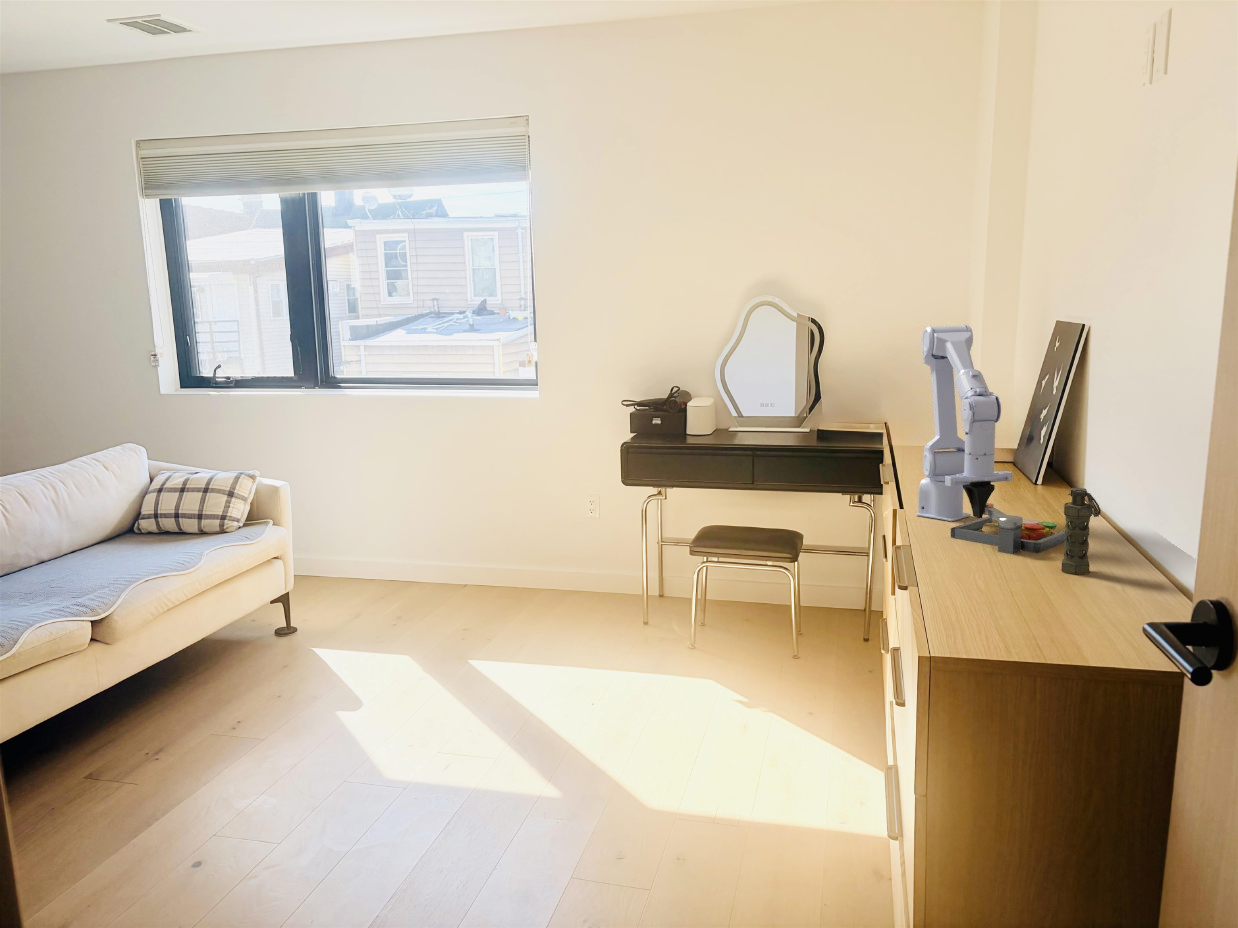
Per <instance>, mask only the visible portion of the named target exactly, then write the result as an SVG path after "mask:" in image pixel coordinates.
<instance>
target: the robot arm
mask: <svg viewBox="0 0 1238 928" xmlns="http://www.w3.org/2000/svg"><path fill="white" fill-rule="evenodd" d="M973 343H974V334H973V330H972V328H971V326H970V325H969V324H963V325H945V326H944V325H943V326H941V325H940V326H932V325H927V326H926V327H925V328H924V330H923V332H922V337H921V353H922V356H921V357H922V360H923V364H925V365H927V366H928V367H929V368H930V369H929V370H930V375H931V388H932V389H931V390H932V391H931V392H932V403H933V405H932V407H933V419H934V420H933V421H934V434H935V435H934V438H932V439H931V440H930V441H929V442H927V443H926V444H925V445H924V446H923V457H922V471H923V473H924V474H923V475H924V476H925V477H924V478H922V479H921V480H920V483H919V487H918V493H917V494H918V497H917V499H918V501H917V503H918V504H917V505H918V507H917V510H918V511H917V512H916V516H919V517H923V518H930V519H938V520H943V521H947V522H948V521H949V522H955V521H958V520H961V519H964V518H968V517H971V516H973V517H974V518H977V519H981V518H983V516H984V515H983V512H984V509H985V506H986V503H988V501H989V499H990V497H991V495H992V494H993V492H994V491H995V489H996V488H995V486H996V485H995V484H992V483H998V482H1007V483H1008V482H1012V481H1013V472H1012V471H1008V470H1002V471H1000V470H999V471H995V448H996V447H995V445H996V423H999V421H1000V419H1001V415H1002V405H1001V404H1002V403H1001V401H1000V397H999V395H997V394H995V393H994V392H993V391H990V390H989V387H988V385H987V382H986V380H985V377H984V375H983V373H982V372H981V371H980V370H978V369H975V367H974V363H973V359H972V356H971V349H972V346H973ZM954 372H955V374H956V376H955V374H954ZM954 376H955V377H954ZM954 378H955V379H954ZM955 387H956V390H957V393H958V396H959V398H960V401H961V407H960V416H961V419H962V430H963V431H964V433H965V434H964V439H962V438H961V437H960V436H959V435H958V423H957V408H956V407H957V406H956V393H955V392H956V391H955ZM964 491H965V493H966V496H967V499H968V501H969V504H970V507H971V511H972V515H971V513H968V512H964Z"/></svg>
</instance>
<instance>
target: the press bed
mask: <svg viewBox="0 0 1238 928" xmlns="http://www.w3.org/2000/svg"><path fill="white" fill-rule="evenodd" d="M986 523H993V518H991V517H990V516H985V517H982V518H977V519H975V520H973V521H968V522H965V523H962V524H959V525H956V526H953V527H950V538H952V539H957V540H964V541H969V542H974V543H980V544H983V545H984V544H985V545H991V546H995V547H997V552H999V553H1006V554H1009V553H1010V555H1015V554H1017V553H1020V552H1021V551H1022V552H1023V551H1024V552H1029V553H1033V554H1039V553H1042V552H1045V551H1047V550H1050V549H1052V548H1055V547H1057V546H1061V545H1062V544H1063V545H1064V541H1065V537H1066V536H1065V530H1062V531H1060V532H1057V533H1055V534H1054V535H1052V536H1049V537H1046V538H1043V539H1041V540H1038V541H1029V540H1024V539H1021V529H1004V528H999V535H995V534H989V533H986V532H984V531H982V528H983V525H984V524H986ZM981 531H982V532H981ZM1068 538H1069V537H1068ZM1014 553H1015V554H1014Z"/></svg>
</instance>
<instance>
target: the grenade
mask: <svg viewBox="0 0 1238 928" xmlns="http://www.w3.org/2000/svg"><path fill="white" fill-rule="evenodd" d="M1067 496H1071V502H1065V503H1064V505H1063V514H1064V517H1065V518H1064V519H1065V522H1066V523H1065V526H1064V531H1065V536H1066V537H1065V541H1064V543H1063V547H1064V553H1063V558H1062V559H1061V571H1062V572H1064V573H1065V574H1066V573H1067V574H1070V575H1086V574H1089V573H1090V566H1091V565H1090V561H1089V555H1088V552H1089V549H1090V547H1089V546H1090V545H1089V538H1090V537H1089V536H1090V527H1089V526H1090V521H1091V517H1092V516H1093V517H1094V518H1098V517H1100V515H1101V513H1102V512H1101V511H1102V510H1101V508H1100V505H1099V503H1098V502H1097V501H1096V499H1095V497H1093V495H1092V494H1091V493H1089V492H1088V490H1087V488H1082V487H1072V488H1070V493H1068V494H1067ZM1086 499H1087V501H1088V502H1086ZM1068 537H1069V538H1068Z"/></svg>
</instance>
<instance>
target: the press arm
mask: <svg viewBox="0 0 1238 928" xmlns="http://www.w3.org/2000/svg"><path fill="white" fill-rule="evenodd" d="M983 516H987V517H991V518H992V520H995V521H996V522H997V523H998V527H1000V528H1004V529H1021V528H1022V527H1023V519H1024V518H1023V517H1022V516H1019V515H1010V514H1006V513H1005V512H1003V511H1001V510H1000V509H997V508H995V507H994V503H991V502H987V503H986V506H985V509H984V512H983Z"/></svg>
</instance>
